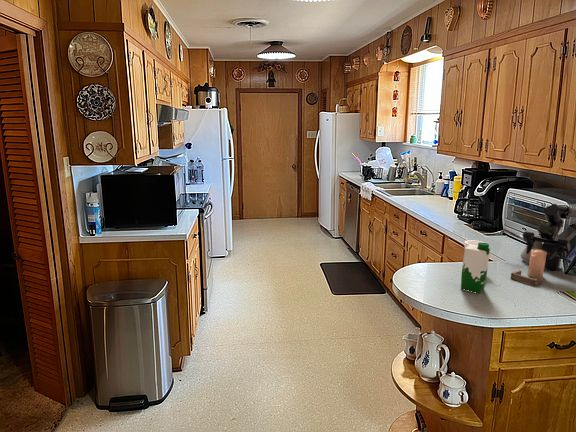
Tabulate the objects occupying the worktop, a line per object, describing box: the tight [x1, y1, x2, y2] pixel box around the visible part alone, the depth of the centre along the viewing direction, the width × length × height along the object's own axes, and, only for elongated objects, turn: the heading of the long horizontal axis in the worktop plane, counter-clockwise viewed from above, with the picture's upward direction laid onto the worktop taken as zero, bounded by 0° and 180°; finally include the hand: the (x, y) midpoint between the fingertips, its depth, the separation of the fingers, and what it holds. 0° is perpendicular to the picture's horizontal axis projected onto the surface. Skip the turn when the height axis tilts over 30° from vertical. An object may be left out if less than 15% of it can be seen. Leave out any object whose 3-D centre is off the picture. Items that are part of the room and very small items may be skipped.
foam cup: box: [464, 239, 486, 249], centre depth 199 cm, size 10×9×13 cm
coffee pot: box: [501, 228, 543, 265], centre depth 213 cm, size 21×12×15 cm, turn 60°
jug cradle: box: [510, 269, 544, 286], centre depth 189 cm, size 8×10×2 cm
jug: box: [526, 249, 547, 279], centre depth 192 cm, size 8×6×12 cm
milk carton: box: [460, 242, 491, 294], centre depth 176 cm, size 9×9×20 cm
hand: (537, 256), depth 192 cm, fingers open, 9 cm apart
